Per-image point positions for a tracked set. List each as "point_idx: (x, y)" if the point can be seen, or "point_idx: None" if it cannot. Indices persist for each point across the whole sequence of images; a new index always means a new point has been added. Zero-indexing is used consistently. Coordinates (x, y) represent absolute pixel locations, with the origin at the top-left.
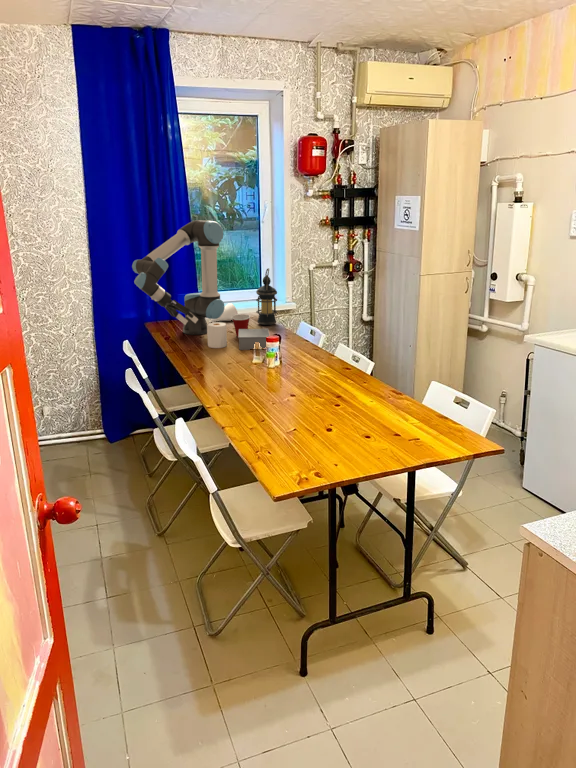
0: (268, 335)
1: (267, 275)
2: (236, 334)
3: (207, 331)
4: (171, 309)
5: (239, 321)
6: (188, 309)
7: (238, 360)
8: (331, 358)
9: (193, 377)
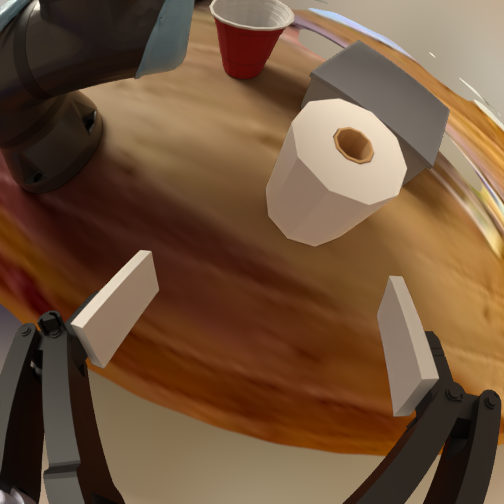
0: (435, 98)
1: None
2: (238, 72)
3: (315, 211)
4: (116, 501)
5: (276, 32)
6: (497, 411)
7: (479, 273)
8: (493, 127)
9: None
